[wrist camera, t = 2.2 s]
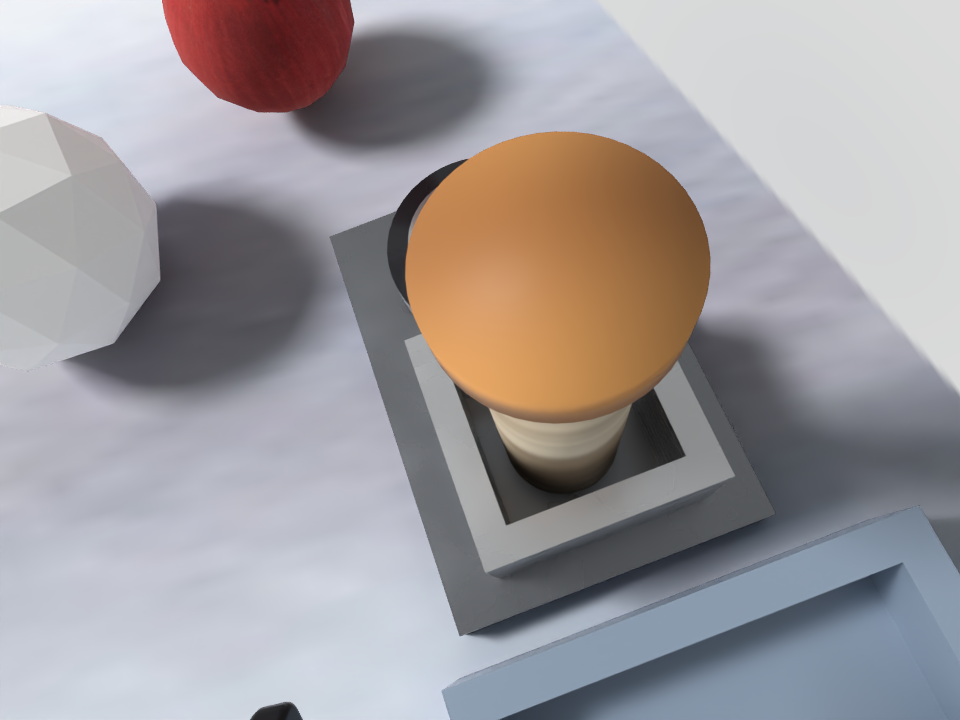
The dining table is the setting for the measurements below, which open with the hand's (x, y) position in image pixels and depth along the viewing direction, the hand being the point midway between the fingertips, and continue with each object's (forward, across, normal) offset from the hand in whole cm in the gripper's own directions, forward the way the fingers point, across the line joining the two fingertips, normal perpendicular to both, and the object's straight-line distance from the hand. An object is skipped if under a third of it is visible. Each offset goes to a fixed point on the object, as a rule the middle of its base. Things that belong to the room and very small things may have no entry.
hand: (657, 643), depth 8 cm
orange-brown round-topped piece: (+11, 0, +4) cm, 12 cm away
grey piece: (+13, 0, +3) cm, 14 cm away
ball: (+18, +14, -2) cm, 23 cm away
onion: (+23, +6, -6) cm, 24 cm away
